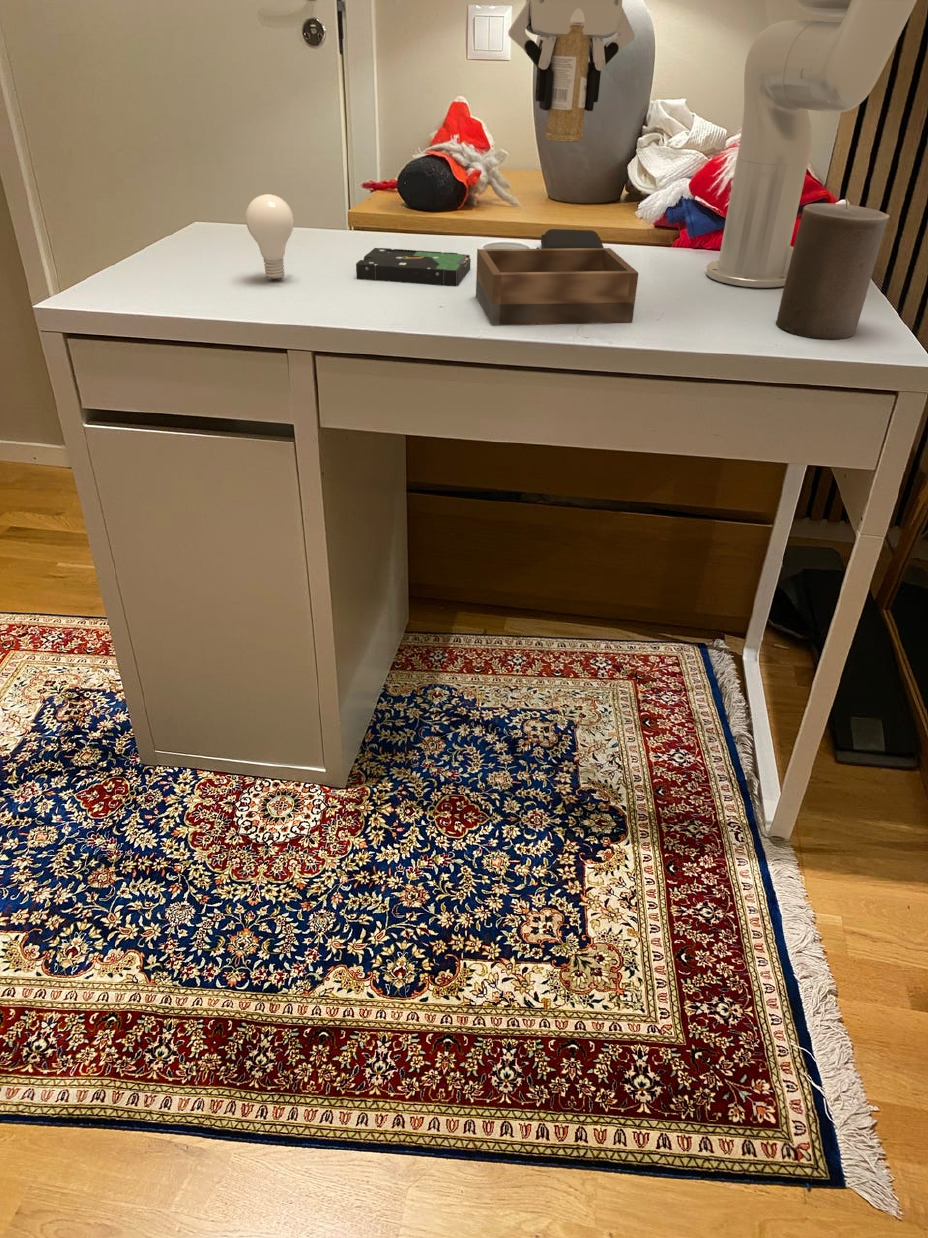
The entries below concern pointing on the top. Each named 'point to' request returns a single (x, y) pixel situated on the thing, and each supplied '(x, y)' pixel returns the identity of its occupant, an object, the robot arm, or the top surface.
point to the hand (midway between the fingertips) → (565, 107)
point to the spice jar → (569, 83)
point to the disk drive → (413, 266)
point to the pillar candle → (830, 270)
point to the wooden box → (555, 286)
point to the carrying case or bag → (570, 239)
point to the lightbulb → (270, 231)
